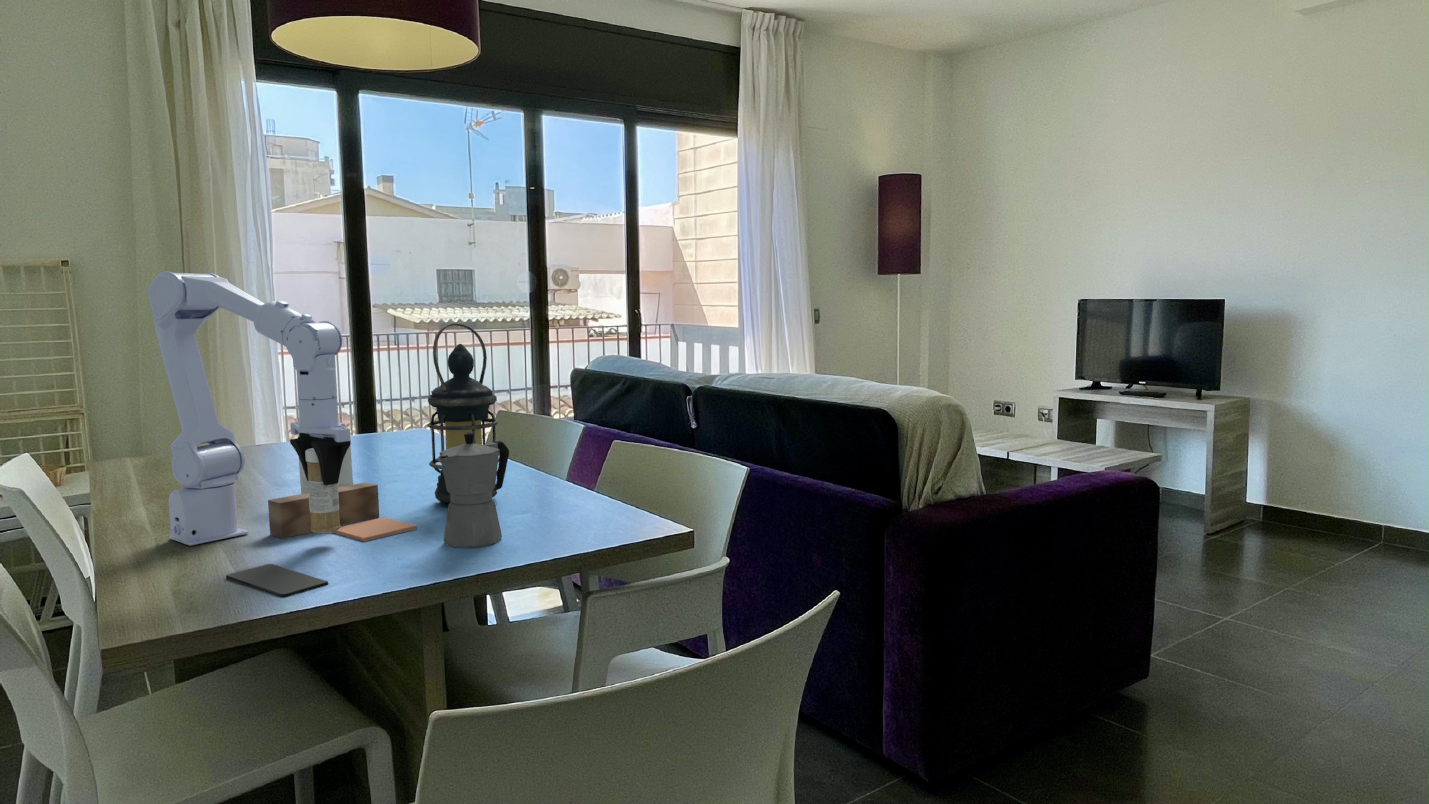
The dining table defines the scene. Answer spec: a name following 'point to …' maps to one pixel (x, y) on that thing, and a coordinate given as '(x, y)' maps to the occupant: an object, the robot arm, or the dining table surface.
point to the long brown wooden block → (295, 513)
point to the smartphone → (276, 580)
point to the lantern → (459, 406)
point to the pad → (374, 529)
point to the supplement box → (344, 477)
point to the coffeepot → (473, 492)
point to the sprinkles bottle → (321, 498)
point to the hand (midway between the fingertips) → (322, 482)
